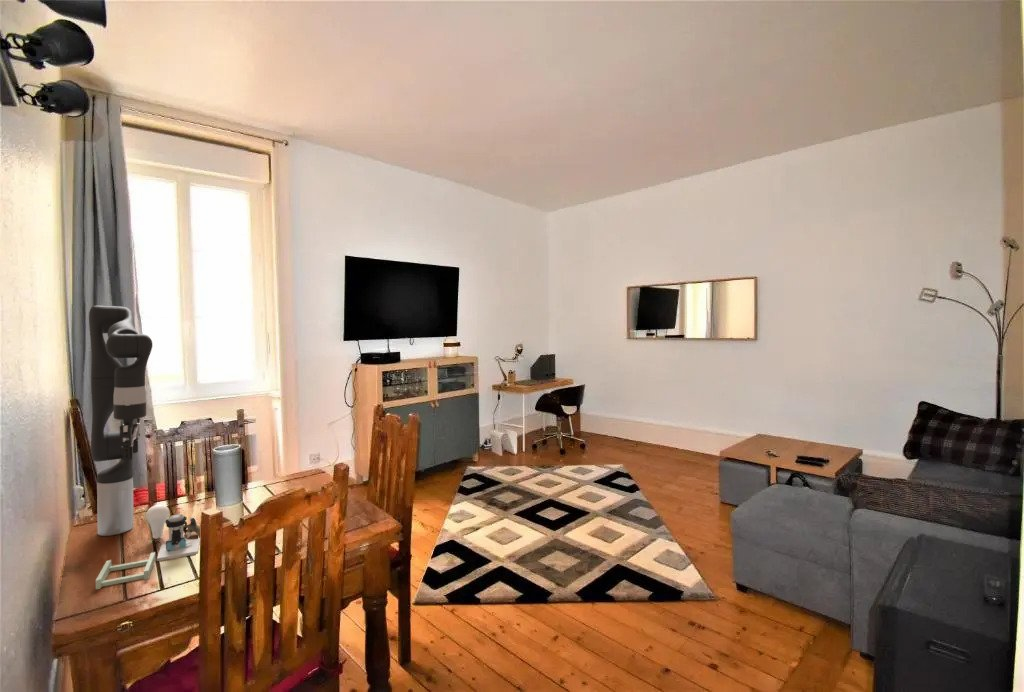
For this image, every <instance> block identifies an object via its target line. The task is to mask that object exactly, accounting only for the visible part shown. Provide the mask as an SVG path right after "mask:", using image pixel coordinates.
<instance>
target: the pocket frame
mask: <svg viewBox="0 0 1024 692" xmlns="http://www.w3.org/2000/svg"><path fill="white" fill-rule="evenodd" d="M155 562H156V551H154V552H153V551H152V552H150V554H149V557H148V559H143V560H138V561H133V562H132V561H131V562H127V563H121V564H114V565H112V559H109V560H106V561H105V563H104V565H103V566H102V568H101V569H100V572H99V573H98V576H97V577H96V578H95V590H101V588H102V587H108V586H112V585H118V584H121V583H123V584H124V583H128V582H133V581H137V580H143V581H146V580H149V579H150V576H151V573H152V570H153V568H154V565H155ZM143 566H145V568H144V569H143V572H142V573H137V574H131V575H126V576H121V577H115V578H111V579H107V577H108V575H109V574H110V572H116V571H120V570H126V569H132V568H137V567H143Z"/></svg>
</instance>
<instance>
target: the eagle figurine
mask: <svg viewBox="0 0 1024 692" xmlns="http://www.w3.org/2000/svg"><path fill="white" fill-rule="evenodd" d="M189 519H190V521H189V522H190V523H189V524H188V522H187V520H185V524H184V525H183V534H185V535H186V538H185V539H186V540H189V538H191V535H192V533H193V532H194V533H196V534H197V537H198V539H199V538H200V527H201V526H199V525H197V524H198V523H197V521H196V518H195V517H189ZM179 528H180V527H179ZM200 539H201V538H200Z"/></svg>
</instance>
